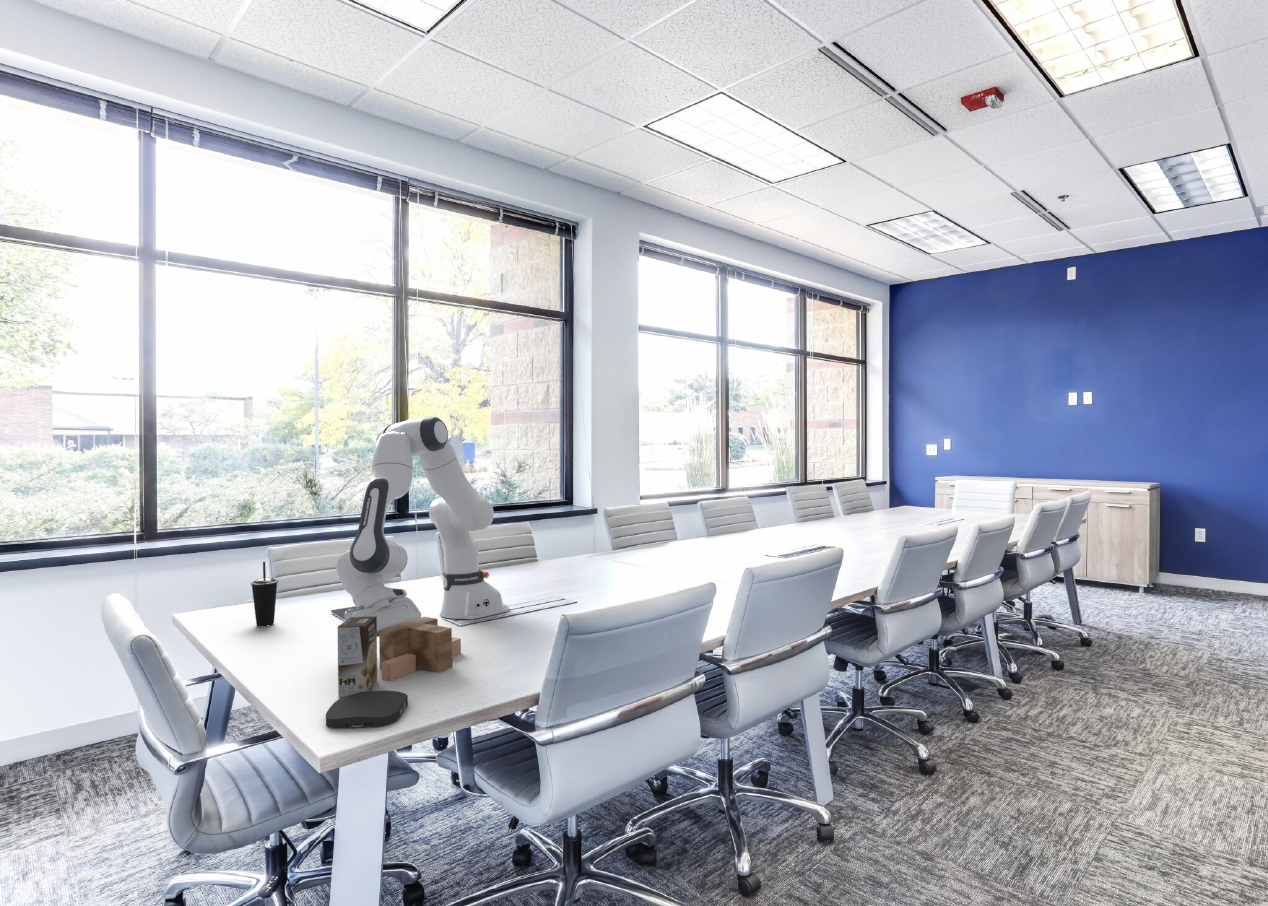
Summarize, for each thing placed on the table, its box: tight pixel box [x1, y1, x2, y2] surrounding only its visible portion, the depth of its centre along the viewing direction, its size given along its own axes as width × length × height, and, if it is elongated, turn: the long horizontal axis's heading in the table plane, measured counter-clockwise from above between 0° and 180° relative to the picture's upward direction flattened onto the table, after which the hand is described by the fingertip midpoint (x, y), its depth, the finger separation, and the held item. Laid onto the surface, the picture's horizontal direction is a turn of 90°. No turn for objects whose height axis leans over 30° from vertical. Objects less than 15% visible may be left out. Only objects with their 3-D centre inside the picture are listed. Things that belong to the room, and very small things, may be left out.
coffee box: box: [336, 617, 378, 698], centre depth 160 cm, size 9×6×16 cm
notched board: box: [381, 636, 462, 681], centre depth 178 cm, size 3×24×4 cm, turn 151°
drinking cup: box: [250, 561, 279, 627], centre depth 218 cm, size 8×8×20 cm
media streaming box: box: [325, 689, 409, 730], centre depth 146 cm, size 15×15×3 cm
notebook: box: [330, 606, 356, 622], centre depth 228 cm, size 13×2×21 cm
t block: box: [378, 616, 453, 674], centre depth 177 cm, size 15×15×10 cm
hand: (400, 644), depth 181 cm, fingers closed, pressing on t block
